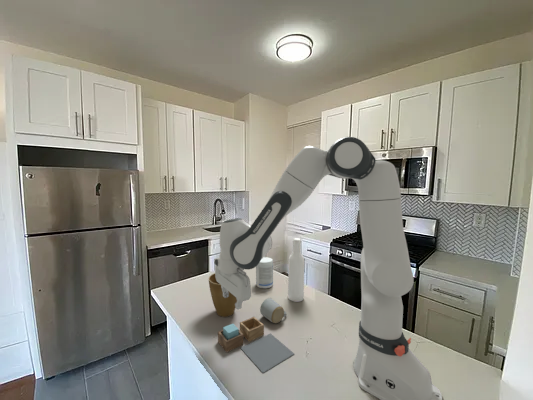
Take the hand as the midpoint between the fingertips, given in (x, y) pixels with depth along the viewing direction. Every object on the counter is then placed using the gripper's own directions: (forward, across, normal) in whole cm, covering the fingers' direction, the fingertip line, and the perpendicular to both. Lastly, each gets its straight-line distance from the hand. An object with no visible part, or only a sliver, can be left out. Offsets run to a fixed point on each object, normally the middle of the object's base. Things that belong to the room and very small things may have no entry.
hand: (231, 302), depth 82 cm
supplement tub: (+15, +31, -37) cm, 50 cm away
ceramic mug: (+15, +3, -22) cm, 27 cm away
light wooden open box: (+15, 0, -8) cm, 17 cm away
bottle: (+15, +10, -41) cm, 45 cm away
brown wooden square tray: (+15, -1, +1) cm, 15 cm away
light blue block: (+15, -1, +1) cm, 15 cm away
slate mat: (+15, -12, -7) cm, 20 cm away
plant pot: (+15, +18, -7) cm, 25 cm away
